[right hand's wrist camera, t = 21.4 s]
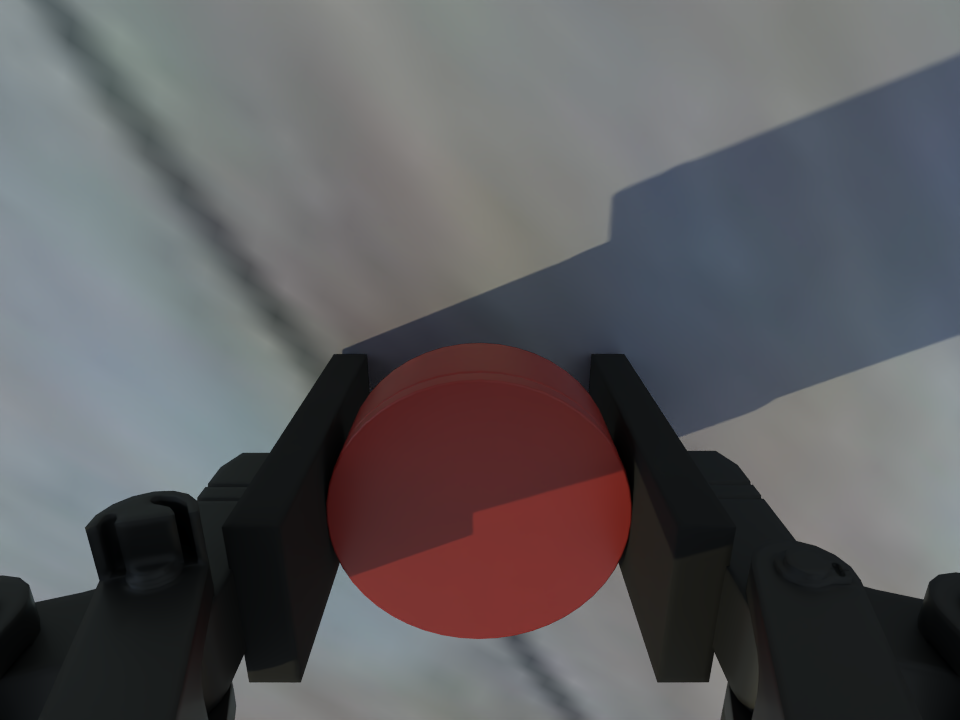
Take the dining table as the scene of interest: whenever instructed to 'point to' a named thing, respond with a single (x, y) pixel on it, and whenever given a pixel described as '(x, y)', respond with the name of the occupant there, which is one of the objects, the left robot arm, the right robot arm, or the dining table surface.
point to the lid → (479, 493)
